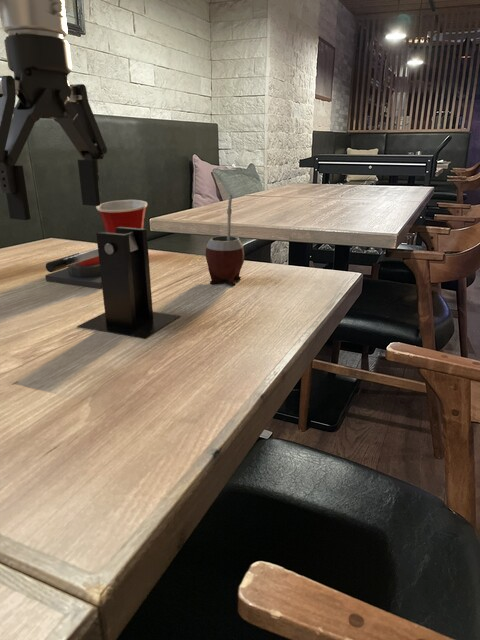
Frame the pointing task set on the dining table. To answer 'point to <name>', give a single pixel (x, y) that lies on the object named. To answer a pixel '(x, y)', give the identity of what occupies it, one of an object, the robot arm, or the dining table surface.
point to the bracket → (126, 287)
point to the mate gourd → (225, 256)
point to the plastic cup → (122, 214)
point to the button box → (78, 276)
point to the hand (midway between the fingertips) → (58, 211)
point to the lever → (83, 257)
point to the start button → (90, 262)
